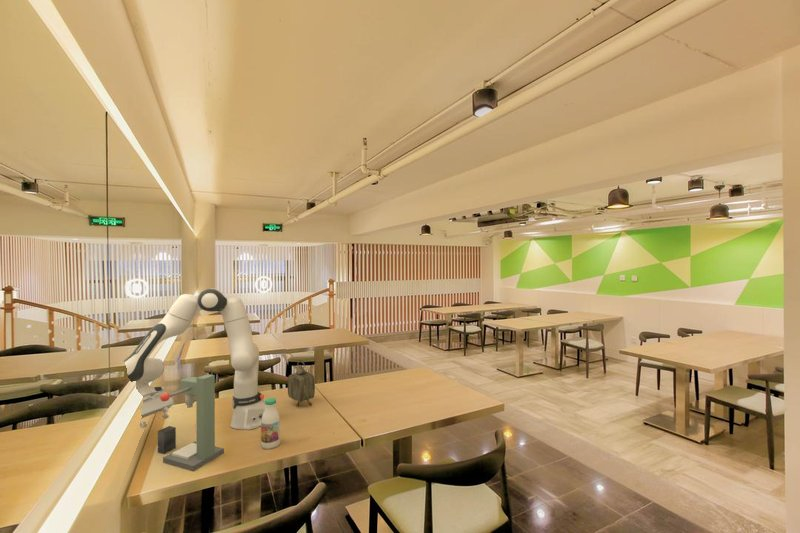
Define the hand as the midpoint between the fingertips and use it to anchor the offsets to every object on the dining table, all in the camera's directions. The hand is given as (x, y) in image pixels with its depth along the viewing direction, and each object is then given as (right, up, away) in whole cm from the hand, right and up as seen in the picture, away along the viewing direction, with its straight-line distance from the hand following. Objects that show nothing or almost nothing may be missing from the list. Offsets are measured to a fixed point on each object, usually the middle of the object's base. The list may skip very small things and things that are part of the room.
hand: (155, 422), depth 151 cm
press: (+21, -11, -12) cm, 26 cm away
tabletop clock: (+50, -11, +46) cm, 69 cm away
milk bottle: (+50, -11, +1) cm, 51 cm away
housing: (+7, -11, -3) cm, 13 cm away
